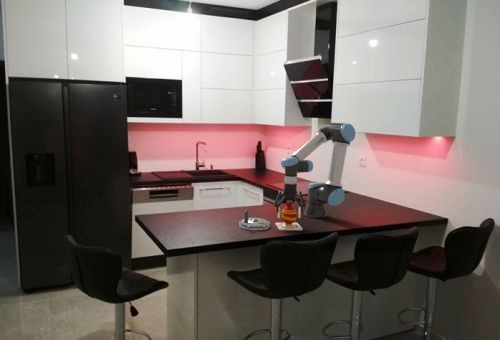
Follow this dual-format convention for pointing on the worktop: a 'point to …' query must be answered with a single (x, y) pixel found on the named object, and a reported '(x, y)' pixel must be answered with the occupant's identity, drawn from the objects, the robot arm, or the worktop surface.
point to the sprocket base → (254, 228)
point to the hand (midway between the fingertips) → (289, 217)
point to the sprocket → (253, 221)
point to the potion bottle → (288, 214)
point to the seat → (282, 226)
